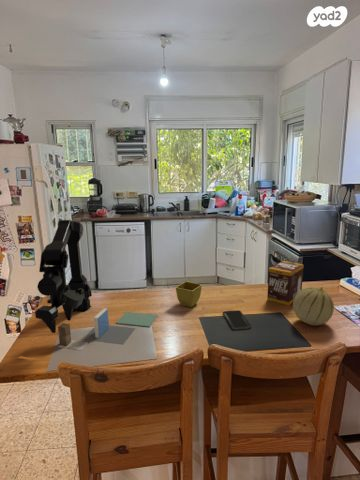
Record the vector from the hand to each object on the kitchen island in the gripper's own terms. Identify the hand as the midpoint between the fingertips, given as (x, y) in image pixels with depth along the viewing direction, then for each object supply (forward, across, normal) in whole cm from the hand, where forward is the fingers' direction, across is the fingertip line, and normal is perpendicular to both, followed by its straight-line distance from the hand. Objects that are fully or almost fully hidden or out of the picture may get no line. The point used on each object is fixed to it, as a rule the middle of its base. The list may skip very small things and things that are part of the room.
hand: (61, 326), depth 117 cm
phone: (+8, +32, -58) cm, 67 cm away
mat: (+7, +10, -13) cm, 18 cm away
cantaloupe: (+7, +36, -87) cm, 94 cm away
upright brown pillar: (+7, 0, -4) cm, 8 cm away
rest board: (+7, +23, -19) cm, 31 cm away
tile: (+6, +10, -10) cm, 16 cm away
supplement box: (+8, +60, -78) cm, 99 cm away
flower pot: (+8, +43, -36) cm, 57 cm away
